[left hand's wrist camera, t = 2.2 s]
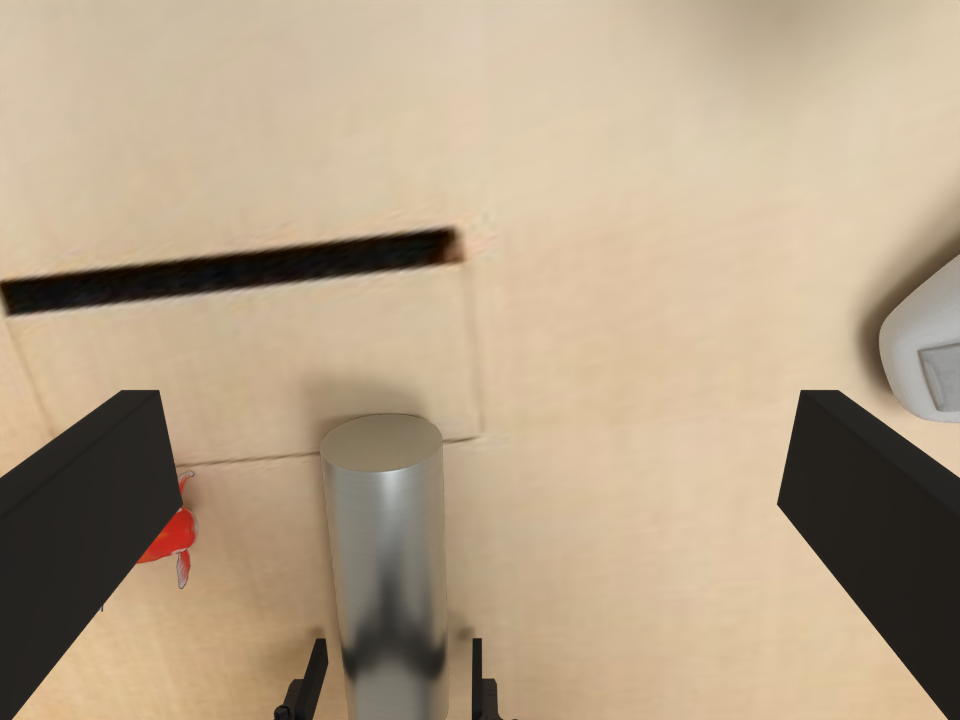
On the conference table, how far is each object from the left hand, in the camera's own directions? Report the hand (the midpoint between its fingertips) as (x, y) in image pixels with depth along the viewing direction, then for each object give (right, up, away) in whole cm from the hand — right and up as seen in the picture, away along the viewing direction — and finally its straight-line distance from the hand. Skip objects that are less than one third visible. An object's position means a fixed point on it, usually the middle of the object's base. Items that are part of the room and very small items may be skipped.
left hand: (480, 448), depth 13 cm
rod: (-7, -14, +36) cm, 39 cm away
